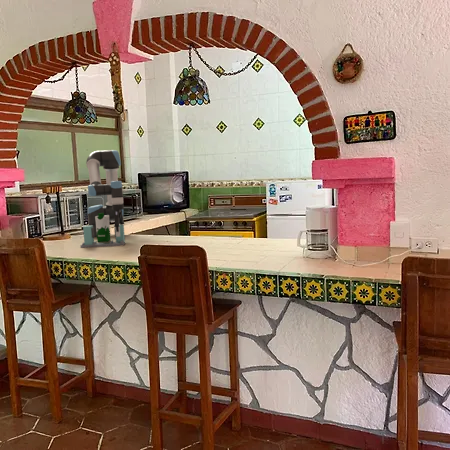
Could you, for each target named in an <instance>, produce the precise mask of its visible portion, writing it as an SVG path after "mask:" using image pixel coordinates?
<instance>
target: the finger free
mask: <svg viewBox="0 0 450 450" xmlns="http://www.w3.org/2000/svg"><path fill="white" fill-rule="evenodd" d="M119 227H120V236H119V237H116V229H115V227H114V237H115V242H120V241H122V240H124V242H125V243H126V239H125V238H126V237H125V224H123V225H120V224H119Z"/></svg>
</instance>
